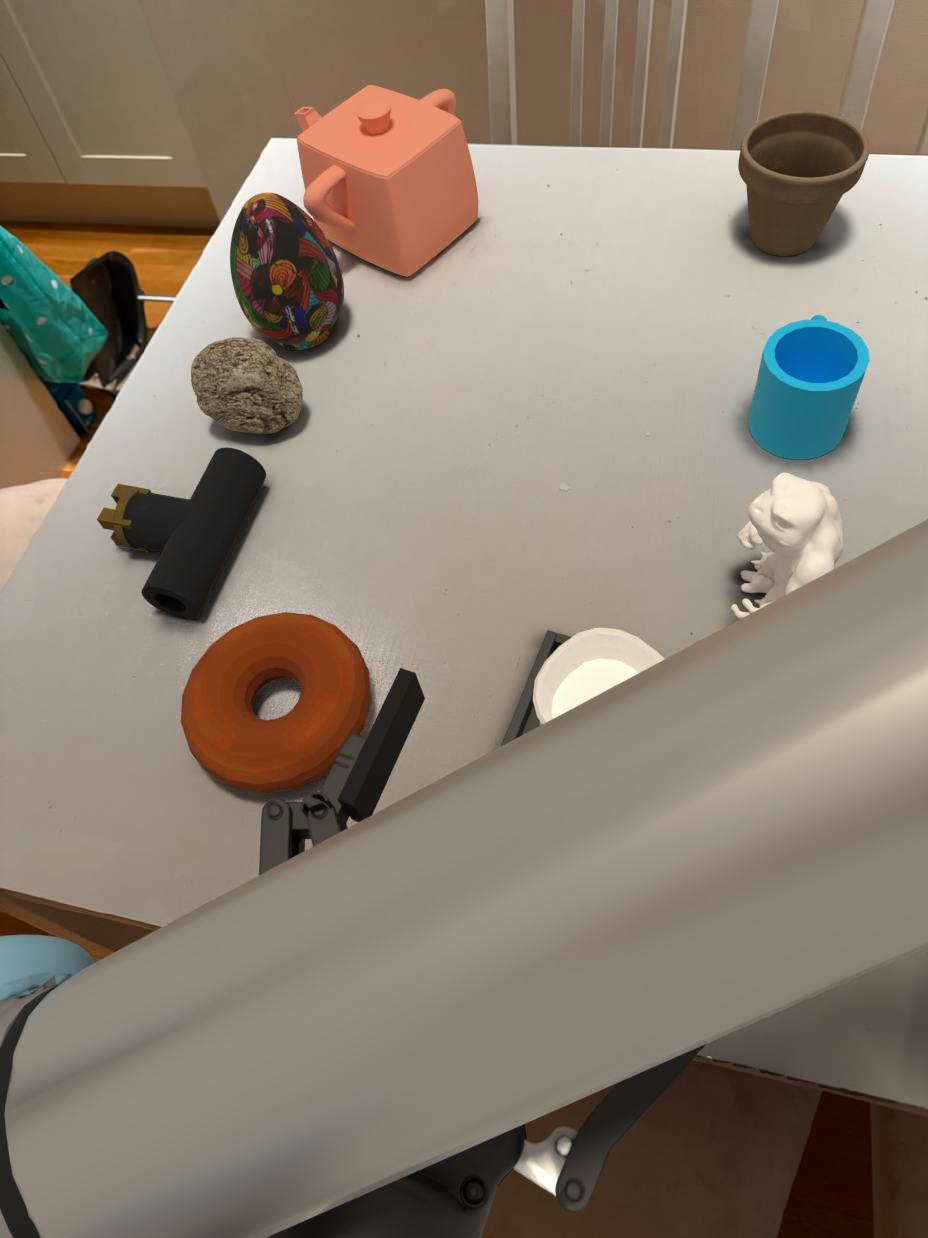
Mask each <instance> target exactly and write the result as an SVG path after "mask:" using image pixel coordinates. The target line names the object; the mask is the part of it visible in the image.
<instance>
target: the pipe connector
mask: <svg viewBox="0 0 928 1238" xmlns="http://www.w3.org/2000/svg"><path fill="white" fill-rule="evenodd" d="M266 478H267V472H266V470H265V467H264V466H263V465H262V464H261V462H260V461H259V460H258V459H256V458H255V457H253V456H252V455H251V454H249V453H247V452H245V451H243V450H240V449H237V448H233V447H229V446H227V447H226V446H225V447H220V448H217V449H216V450H215V451H214V453H213V455H212V456H211V458H210V460H209V463H208V464H207V465H206V468H205V470H204V471H203V473H202V475H201V478H200V479H199V481H198V483H197V485H196V486H195V489H194V491H193V493H192V494H191V496H190V498H189V499H188V498H182V497H177V496H172V495H166V494H162V493H161V494H160V493H156V492H155V493H154V492H152V490H151V489H150V488H144V487H139V486H134V485H127V484H123V483H117V484H116V486H115V488H114V489H113V491H112V493H111V494H110V497H111V498H112V499H113V501H114V502H115V503H116V506H115V508H110V507H109V508H108V507H103V508H102V510H101V511H100V513H99V515H98V517H97V518H96V521H97V522H98V523H99V525H100V526H101V527H102V529H104V530H108V531H113V532H112V534H111V536H110V540H111V541H112V542H113V543H114V544H115V546H116V547H119V548H125V549H129V550H136V551H139V552H146V553H149V552H150V551H154V552H159V553H160V555H159V556H158V558H157V560H156V563H155V564H154V566H153V568H152V569H151V571H150V574H149V576H148V578H147V579H146V581H145V583H144V585H143V586H142V588H141V592H140V593H141V595H142V597H143V599H144V600H145V601H146V602H147V603H148V604H150V606H152V607H153V608H155V609H157V610H158V611H160V612H163V613H164V614H167V615H169V616H172V617H175V618H178V619H183V620H195V619H198V618H199V616H200V615H201V612H202V610H203V608H204V607H205V604H206V603H207V601H208V598H209V596H210V594H211V592H212V589H213V587H214V585H215V583H216V581H217V579H218V577H219V575H220V573H221V571H222V570H223V567H224V565H225V563H226V561H227V559H228V557H229V555H230V553H231V551H232V549H233V547H234V544H235V543H236V540H237V538H238V537H239V535H240V532H241V530H242V528H243V526H244V524H245V522H246V520H247V518H248V516H249V513H250V511H251V509H252V507H253V505H254V503H255V501H256V499H257V498H258V496H259V493H260V491H261V489H262V486H263V485H264V483H265V481H266Z"/></svg>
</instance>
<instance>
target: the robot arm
mask: <svg viewBox="0 0 928 1238" xmlns="http://www.w3.org/2000/svg"><path fill="white" fill-rule="evenodd" d="M759 608H760V607H759ZM425 700H426V697H425V694H424V692H423V689H422V687H421V684H420V682H419V679H418V675H417V673H416V672H415V671H412V670H408V669H405V668H402V667H400V668H399V669H398V672H397V673H396V676H395V677H394V680H393V682H392V684H391V686H390V688H389V690H388V693H387V694H386V697H385V698H384V700H383V703H382V705H381V707H380V709H379V712H378V713H377V716H376V718H375V720H374V722H373V724H372V726H371V728H370V730H369V733H368V735H367V737H366V736H365V737H364V736H362V735H360V736H359V735H356V734H352V735H351V736H350V737H348V738H347V739H346V740H345V741H344V743H343V745H342V747H341V749H340V751H339V754H338V755H337V757H336V759H335V762H334V763H333V765H332V767H331V769H330V770H329V771H328V772H327V774H326V778H325V780H324V782H323V784H322V786H321V788H320V789H319V791H312V792H309V793H308V794H306V795H305V796H304V797H303V798H302V800H301V801H286V800H285V799H283V798H280V797H275V798H272V799H269V800H268V801H267V802H266V803H265V804H264V805H263V807H262V810H261V818H260V841H259V860H258V861H259V862H258V863H259V865H258V875H257V876H255V877H253V878H252V879H250V880H248V881H246V882H244V883H241V884H240V885H238V886H236V887H235V888H233V889H231V890H229V891H227V892H225V893H224V894H221V895H219V896H218V897H216V898H214V899H212V900H210V901H208V902H206V903H204V904H203V905H201V906H199V907H197V908H195V909H193V910H191V911H189V912H188V913H186V914H184V915H182V916H180V917H178V918H176V919H174V920H173V921H171V922H169V923H167V924H165V925H164V926H161V927H159V928H158V929H156V930H154V931H152V932H149V933H148V934H146V935H144V936H143V937H141V938H139V939H137V940H135V941H133V942H131V943H129V944H127V945H126V946H124V947H122V948H120V949H118V950H117V951H115V952H114V951H113V952H112V953H110V954H109V955H107V956H105V957H104V958H102V959H100V960H98V961H96V962H95V960H94V959H93V957H92V955H90V954H89V952H88V950H86V949H84V948H83V947H82V946H81V945H79V944H77V943H75V942H73V941H71V940H68V939H65V938H61V937H58V936H52V935H43V934H9V935H0V1238H482V1235H483V1232H484V1229H485V1226H486V1222H487V1220H488V1217H489V1214H490V1211H491V1208H492V1204H493V1201H494V1198H495V1195H496V1193H497V1191H498V1189H499V1187H500V1185H501V1184H502V1183H503V1181H504V1179H505V1178H506V1177H507V1176H508V1175H509V1174H510V1173H511V1172H512V1171H513V1170H514V1171H515V1172H517V1173H518V1174H520V1175H522V1176H523V1177H525V1178H526V1179H528V1180H529V1181H531V1182H532V1183H534V1184H536V1185H537V1186H539V1187H540V1188H541V1189H543V1190H545V1191H547V1192H548V1193H550V1194H552V1195H553V1196H554V1197H556V1200H557V1202H558V1205H560V1207H561V1208H563V1209H564V1210H565V1211H567V1212H569V1213H571V1214H574V1213H576V1214H577V1213H581V1212H582V1211H584V1210H585V1209H587V1208H588V1206H589V1205H590V1203H591V1201H592V1199H593V1195H594V1193H595V1191H596V1188H597V1186H598V1184H599V1181H600V1178H601V1176H602V1174H603V1171H604V1168H605V1166H606V1163H607V1160H608V1158H609V1157H610V1153H611V1151H612V1149H613V1148H614V1147H615V1146H616V1145H617V1144H618V1143H619V1141H620V1140H622V1138H623V1137H624V1136H625V1135H626V1133H628V1131H629V1130H630V1129H631V1128H632V1127H633V1126H634V1125H635V1124H636V1123H637V1122H638V1120H639V1119H641V1117H642V1116H643V1115H644V1114H645V1113H646V1111H648V1109H649V1108H650V1107H651V1106H652V1105H653V1104H654V1103H655V1102H656V1101H657V1099H658V1098H659V1097H660V1096H661V1095H662V1094H663V1093H664V1092H665V1091H666V1090H667V1088H668V1087H669V1086H670V1085H671V1084H672V1083H673V1082H674V1081H675V1080H676V1079H677V1078H678V1076H679V1075H681V1073H682V1072H683V1071H684V1070H685V1069H686V1068H687V1066H688V1065H689V1064H690V1063H691V1062H692V1061H693V1060H694V1059H695V1058H696V1056H697V1055H698V1054H699V1053H700V1052H701V1051H702V1050H703V1049H704V1048H705V1047H706V1046H707V1045H708V1044H710V1043H712V1042H714V1041H716V1040H717V1039H720V1038H723V1037H725V1036H727V1035H730V1034H732V1033H734V1032H736V1031H739V1030H741V1029H743V1028H746V1027H747V1026H750V1025H753V1024H754V1023H757V1022H759V1021H761V1020H764V1019H766V1018H768V1017H771V1016H773V1015H775V1014H777V1013H780V1012H781V1011H785V1010H787V1009H788V1008H791V1007H793V1006H795V1005H797V1004H800V1003H802V1002H804V1001H807V1000H809V999H811V998H814V997H816V996H818V995H820V994H823V993H825V992H827V991H829V990H831V989H834V988H836V987H838V986H841V985H843V984H845V983H847V982H850V981H852V980H854V979H857V978H859V977H861V976H863V975H865V974H868V973H870V972H872V971H875V970H877V969H879V968H882V967H884V966H886V965H888V964H890V963H892V962H895V961H897V960H900V959H902V958H904V957H906V956H909V955H911V954H913V953H916V952H918V951H920V950H922V949H925V948H927V947H928V518H927V519H925V520H923V521H922V522H919V523H918V524H916V525H914V526H913V527H910V528H908V529H907V530H905V531H903V532H901V533H899V534H898V535H896V536H894V537H891V538H890V539H888V540H886V541H884V542H882V543H881V544H879V545H877V546H874V547H873V548H870V549H868V550H867V551H865V552H863V553H862V554H860V555H857V556H856V557H855V558H854V557H853V558H852V559H851V560H849V561H846V562H845V563H843V564H841V565H839V566H837V567H834V569H833V570H832V571H830V572H828V573H826V574H824V575H822V576H820V577H818V578H817V579H815V580H813V581H811V582H809V583H807V584H805V585H803V586H802V587H800V588H798V589H796V590H794V591H792V592H790V593H788V594H787V595H785V596H783V597H781V598H779V599H777V600H775V601H773V602H772V603H770V604H768V605H766V606H764V607H762V608H760V609H758V610H757V611H755V612H753V613H751V614H749V615H747V616H745V617H743V618H741V619H737V620H736V621H734V622H732V623H730V624H728V625H726V626H724V627H723V628H720V629H719V630H717V631H715V632H713V633H712V634H710V635H708V636H705V637H703V638H702V639H700V640H698V641H696V642H694V643H693V644H691V645H689V646H687V647H684V648H683V649H681V650H680V651H678V652H675V653H674V654H672V655H670V656H668V657H666V658H665V660H663V661H661V662H659V663H657V664H655V665H653V666H651V667H650V668H648V669H646V670H644V671H642V672H640V673H638V674H636V675H634V676H633V677H631V678H629V679H627V680H625V681H623V682H621V683H619V684H618V685H616V686H614V687H612V688H610V689H608V690H606V691H604V692H603V693H601V694H599V695H597V696H595V697H593V698H591V699H589V700H588V701H586V702H584V703H582V704H580V705H578V706H576V707H574V708H573V709H571V710H569V711H567V712H565V713H563V714H561V715H559V716H558V717H556V718H554V719H552V720H550V721H548V722H546V723H544V724H542V725H541V726H539V727H537V728H535V729H533V730H531V731H529V732H527V733H526V734H524V735H522V736H520V737H518V738H516V739H514V740H512V741H511V742H509V743H507V744H505V745H503V746H499V747H498V748H495V749H494V750H492V751H490V752H488V753H486V754H484V755H482V756H480V757H479V758H477V759H475V760H473V761H471V762H469V763H467V764H466V765H464V766H462V767H460V768H458V769H457V770H454V771H452V772H451V773H449V774H447V775H445V776H443V777H441V778H439V779H437V780H436V781H434V782H431V783H429V784H428V785H426V786H424V787H422V788H420V789H419V790H417V791H415V792H413V793H411V794H410V795H407V796H406V797H403V798H401V799H399V800H398V801H396V802H394V803H393V804H390V805H389V806H386V807H384V808H383V809H381V810H379V811H377V812H376V813H374V812H375V809H376V808H377V806H378V804H379V802H380V799H381V797H382V795H383V792H384V790H385V788H386V786H387V784H388V781H389V779H390V777H391V775H392V772H393V770H394V768H395V766H396V764H397V761H398V760H399V757H400V755H401V753H402V750H403V748H404V746H405V744H406V741H407V740H408V738H409V735H410V733H411V732H412V729H413V726H414V724H415V722H416V720H417V718H418V715H419V713H420V711H421V709H422V706H423V704H424V702H425ZM349 819H351V820H352V821H354V822H356V823H354V824H353V825H351V826H348V824H347V823H348V821H349ZM306 840H311V844H312V845H311V847H310V848H308V849H306ZM614 1085H615V1086H614ZM611 1086H614V1087H613V1088H611V1090H610V1091H609V1092H608V1093H606V1095H605V1097H603V1098H602V1100H601V1101H600V1102H599V1103H598V1104H596V1106H595V1107H594V1109H593V1110H592V1111H591V1112H590V1113H589V1115H588V1116H587V1117H586V1118H585V1120H584V1121H583V1123H582V1124H581V1126H580V1128H579V1129H578V1130H576V1129H574V1128H572V1127H570V1126H567V1125H566V1126H565V1125H562V1126H558V1127H556V1128H555V1129H553V1130H552V1131H551V1133H550V1134H549V1135H548V1136H547V1137H546V1139H544V1140H542V1141H540V1142H533V1141H531V1140H528V1139H527V1129H526V1126H525V1124H528V1123H529V1122H532V1121H535V1120H536V1119H538V1118H541V1117H543V1116H546V1115H548V1114H551V1113H552V1112H554V1111H557V1110H559V1109H562V1108H564V1107H566V1106H568V1105H570V1104H573V1103H575V1102H577V1101H580V1100H582V1099H584V1098H586V1097H588V1096H591V1095H593V1094H596V1093H598V1092H600V1091H602V1090H604V1089H607V1088H609V1087H611Z"/></svg>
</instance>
